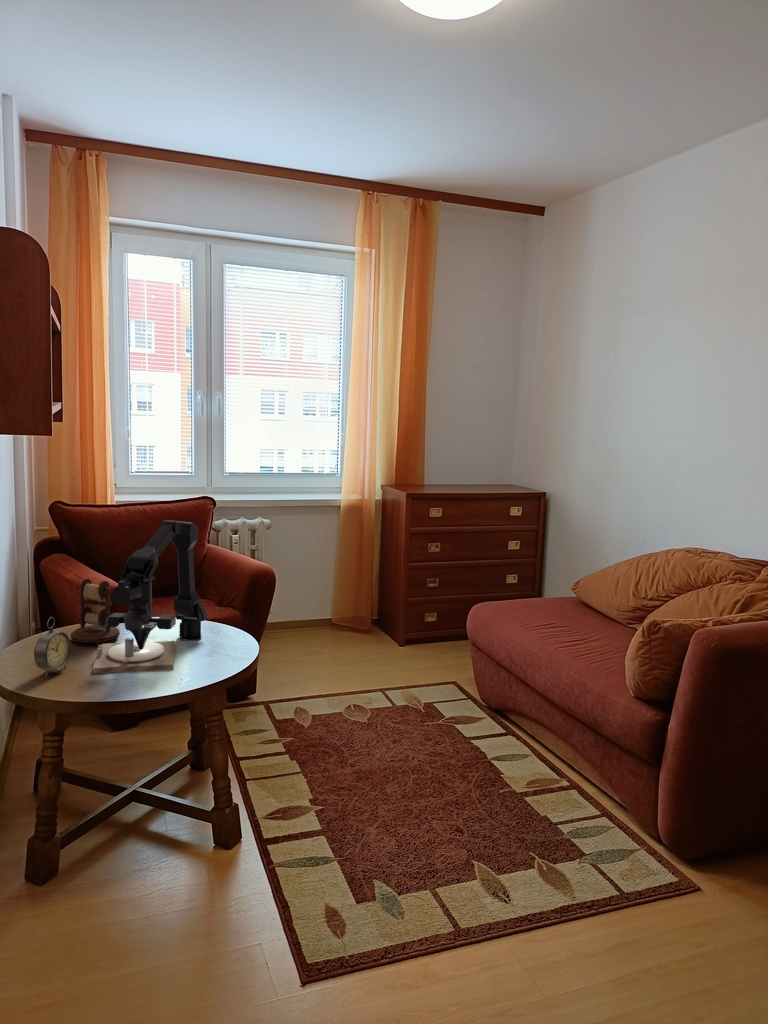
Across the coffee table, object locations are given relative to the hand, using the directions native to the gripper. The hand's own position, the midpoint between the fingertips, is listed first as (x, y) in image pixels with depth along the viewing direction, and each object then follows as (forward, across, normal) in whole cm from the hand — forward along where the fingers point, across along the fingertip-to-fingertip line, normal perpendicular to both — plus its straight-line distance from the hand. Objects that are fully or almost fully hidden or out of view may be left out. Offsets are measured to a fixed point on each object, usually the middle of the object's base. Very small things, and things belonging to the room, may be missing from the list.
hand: (141, 649), depth 211 cm
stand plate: (+5, -4, +6) cm, 9 cm away
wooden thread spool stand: (+5, -22, +22) cm, 31 cm away
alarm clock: (+5, -22, -8) cm, 25 cm away
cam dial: (+3, -4, +5) cm, 7 cm away
